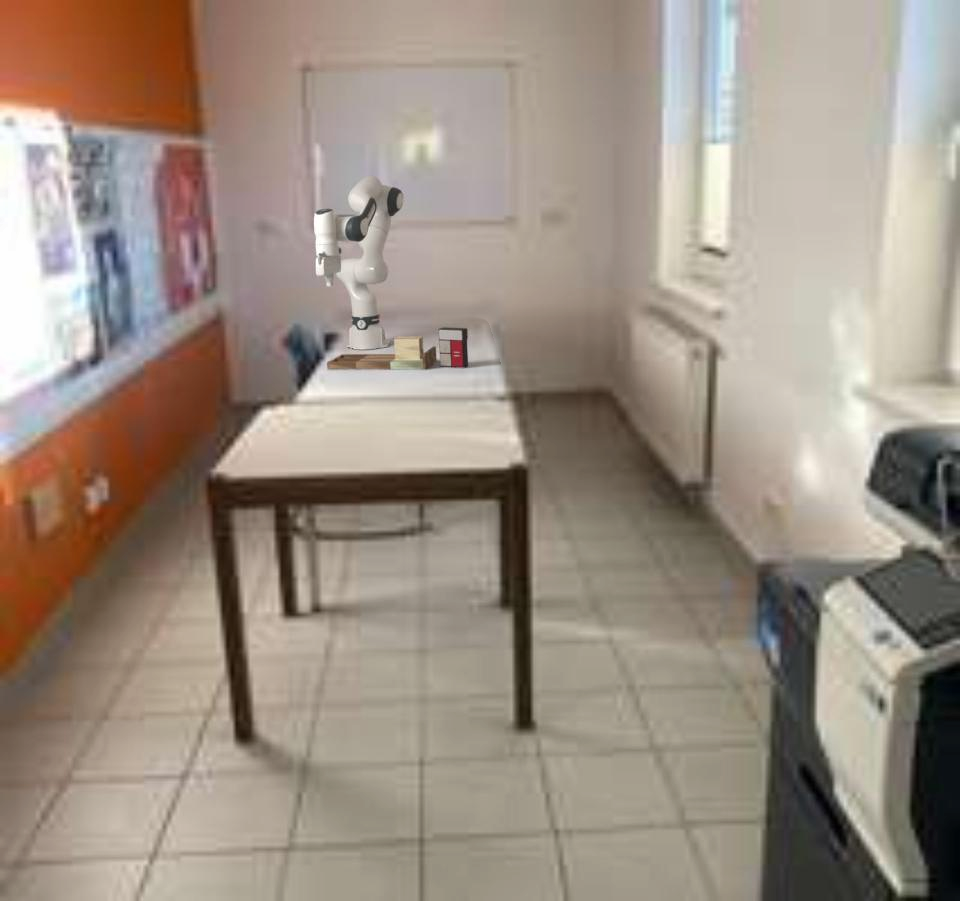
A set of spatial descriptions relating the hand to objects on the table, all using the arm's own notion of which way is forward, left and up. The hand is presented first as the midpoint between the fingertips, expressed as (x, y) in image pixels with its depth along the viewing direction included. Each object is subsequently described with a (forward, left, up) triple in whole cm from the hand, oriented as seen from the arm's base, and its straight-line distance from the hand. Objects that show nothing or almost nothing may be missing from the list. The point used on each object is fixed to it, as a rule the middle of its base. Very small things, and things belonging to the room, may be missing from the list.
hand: (330, 286), depth 398 cm
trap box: (+7, +22, -31) cm, 39 cm away
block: (+8, +33, -28) cm, 44 cm away
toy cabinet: (+10, +52, -31) cm, 61 cm away
